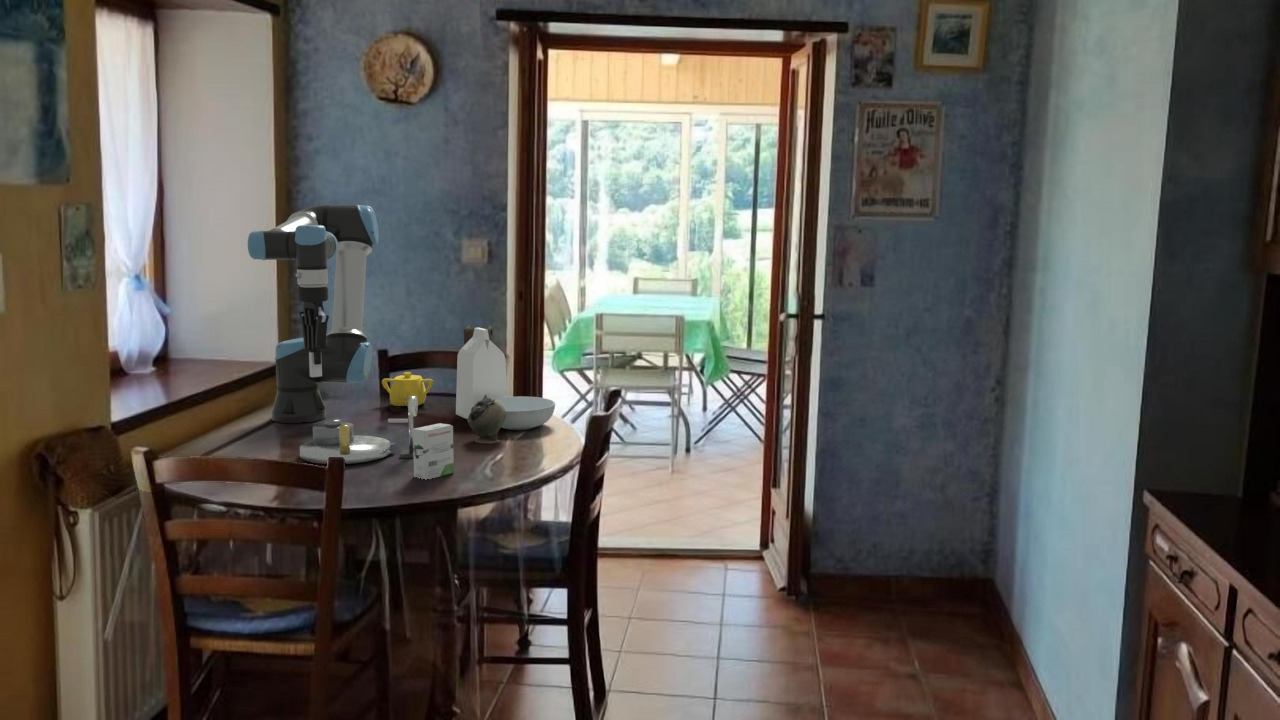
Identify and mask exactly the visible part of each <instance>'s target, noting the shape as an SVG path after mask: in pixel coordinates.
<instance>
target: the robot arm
mask: <svg viewBox="0 0 1280 720" xmlns="http://www.w3.org/2000/svg"><path fill="white" fill-rule="evenodd" d="M379 238H380V234H379V225H378V221H377V216H376V212H375V210H374V209H373V207H372V206H369V205H360V204H345V205H344V204H319V205H318V204H317V205H314V206H313V205H312V206H310V207H306V208H303V209H301V210H298V211H295V212H294V213H292V214H291V215H290V216H289V217H287V220H286V221H285V222H283V223H280V224H279V225H277V226H275V227H274V228H272V229H270V230H258V231H257V230H254V231H253V230H252V231H251V232H250V233H249V234H248V238H247V252H248V255H249V256H250V257H251V259H252V260H261V261H267V260H268V261H269V260H270V261H271V260H273V261H274V260H275V261H276V260H278V261H283V260H285V261H286V260H289V261H293V260H294V261H296V273H295V277H296V279H297V280H296V281H297V282H296V283H297V285H299V286H298V287H297V289H296V290H297V301H299V302H302V303H303V306H302V307H303V309H302V310H299V311H298V314H299V319H300V322H301V324H300V325H301V329H302V336H303V337H297V338H292V339H288V340H284V341H281V342H279V343H278V344H277V345H276V346H275V357H274V361H275V377H276V378H275V379H276V395H275V398H274V403H273V406H272V410H271V421H272V422H276V423H280V424H282V423H283V424H303V423H302V422H306V423H312V422H318V421H322V420H324V419H327V410H326V406H325V403H324V401H323V398H322V396H321V393H320V385H319V383H321V384H330V383H331V384H339V383H340V384H352V383H363V382H364V381H366V380H367V379H368V377H369V374H370V372H371V368H372V363H373V357H374V356H373V351H374V350H373V345H372V344H371V343H370V342H368V337H367V336H366V335H365V333H364V332H363V326H364V325H363V324H364V310H365V309H364V306H365V291H366V290H365V288H366V274H367V273H366V270H367V256H369V255H370V254H371V253H372V252H373V246H376V245H378V244H379V240H380V239H379ZM335 255H336V258H335V259H336V261H335V262H336V263H335V275H334V276H335V277H334V289H333V293H334V294H333V308H332V323H331V331H329V332H327V330H328V322H329V318H330V316H329V314H328V313H327V314H326V313H325V310H324V309H325V308H324V304H323V303H324V302H327V301H328V300H329V288H328V286H327V285H328V283H329V277H328V276H329V275H328V260H329V259H331V258H333V257H334V256H335Z"/></svg>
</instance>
